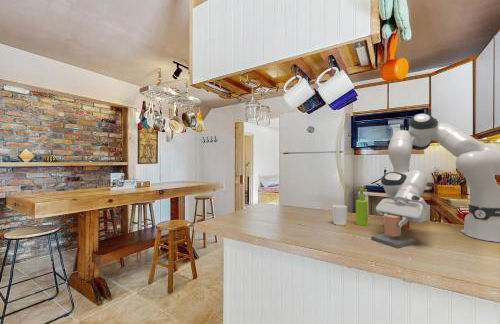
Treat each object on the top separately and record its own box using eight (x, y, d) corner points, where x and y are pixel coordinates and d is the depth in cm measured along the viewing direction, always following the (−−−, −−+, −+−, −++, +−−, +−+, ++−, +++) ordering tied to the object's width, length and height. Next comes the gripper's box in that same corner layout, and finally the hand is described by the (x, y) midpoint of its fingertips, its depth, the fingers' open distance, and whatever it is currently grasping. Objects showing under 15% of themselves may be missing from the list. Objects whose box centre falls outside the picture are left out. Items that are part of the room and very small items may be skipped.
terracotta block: (391, 232, 109) (390, 214, 108) (401, 235, 104) (400, 216, 104) (384, 233, 107) (384, 215, 106) (394, 236, 103) (394, 217, 102)
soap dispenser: (363, 222, 138) (363, 187, 138) (369, 225, 131) (369, 188, 131) (353, 222, 138) (352, 187, 137) (359, 225, 131) (358, 188, 131)
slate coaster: (388, 235, 114) (388, 232, 114) (415, 243, 103) (415, 239, 103) (371, 239, 108) (371, 236, 108) (397, 248, 98) (397, 244, 98)
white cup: (350, 224, 134) (350, 206, 134) (340, 226, 130) (340, 208, 130) (338, 221, 141) (338, 204, 141) (329, 223, 137) (329, 205, 137)
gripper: (380, 193, 118) (367, 215, 114) (426, 198, 99) (412, 225, 95) (386, 201, 120) (373, 223, 116) (433, 208, 101) (419, 235, 97)
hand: (391, 224), depth 105 cm, fingers closed on terracotta block, 4 cm apart
